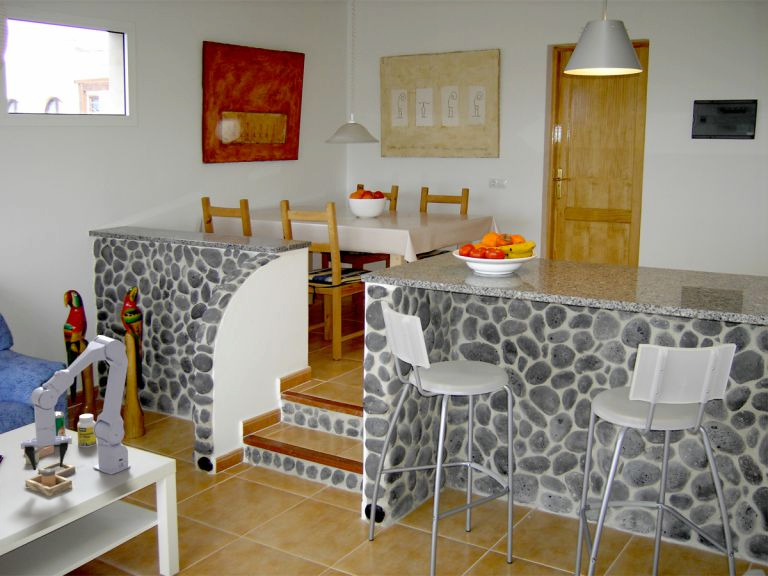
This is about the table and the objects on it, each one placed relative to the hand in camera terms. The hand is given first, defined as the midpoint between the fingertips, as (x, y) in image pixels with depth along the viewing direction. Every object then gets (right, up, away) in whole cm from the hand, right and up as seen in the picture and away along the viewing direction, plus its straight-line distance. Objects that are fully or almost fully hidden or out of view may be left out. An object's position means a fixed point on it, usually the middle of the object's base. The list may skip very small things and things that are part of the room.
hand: (48, 467), depth 256 cm
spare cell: (-13, -3, +18) cm, 22 cm away
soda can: (-10, 0, +34) cm, 36 cm away
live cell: (0, -6, +2) cm, 6 cm away
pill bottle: (0, 0, +35) cm, 35 cm away
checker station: (0, -5, +6) cm, 8 cm away
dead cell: (-14, -1, +26) cm, 29 cm away
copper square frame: (-14, -1, +26) cm, 29 cm away
